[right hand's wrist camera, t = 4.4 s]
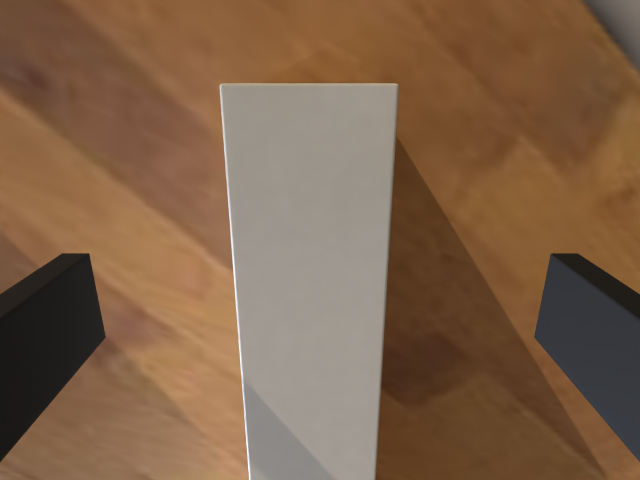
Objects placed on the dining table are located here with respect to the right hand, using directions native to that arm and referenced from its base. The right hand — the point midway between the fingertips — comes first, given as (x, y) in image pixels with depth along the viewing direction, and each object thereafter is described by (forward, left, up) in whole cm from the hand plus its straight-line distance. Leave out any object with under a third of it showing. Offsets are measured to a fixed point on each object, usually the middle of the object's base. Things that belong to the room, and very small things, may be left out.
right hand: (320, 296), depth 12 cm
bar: (-11, -18, -10) cm, 23 cm away
